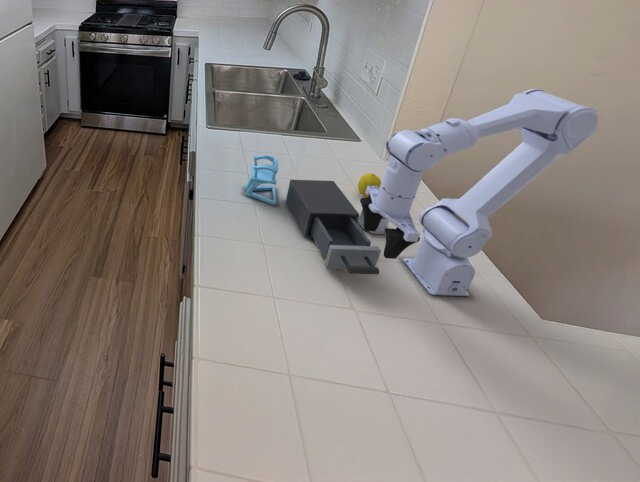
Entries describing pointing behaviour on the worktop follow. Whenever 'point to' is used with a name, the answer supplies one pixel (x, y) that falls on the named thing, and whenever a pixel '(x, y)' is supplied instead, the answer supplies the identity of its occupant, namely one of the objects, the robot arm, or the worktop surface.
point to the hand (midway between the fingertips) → (379, 243)
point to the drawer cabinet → (317, 202)
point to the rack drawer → (344, 245)
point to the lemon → (368, 183)
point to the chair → (263, 178)
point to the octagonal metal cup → (381, 227)
